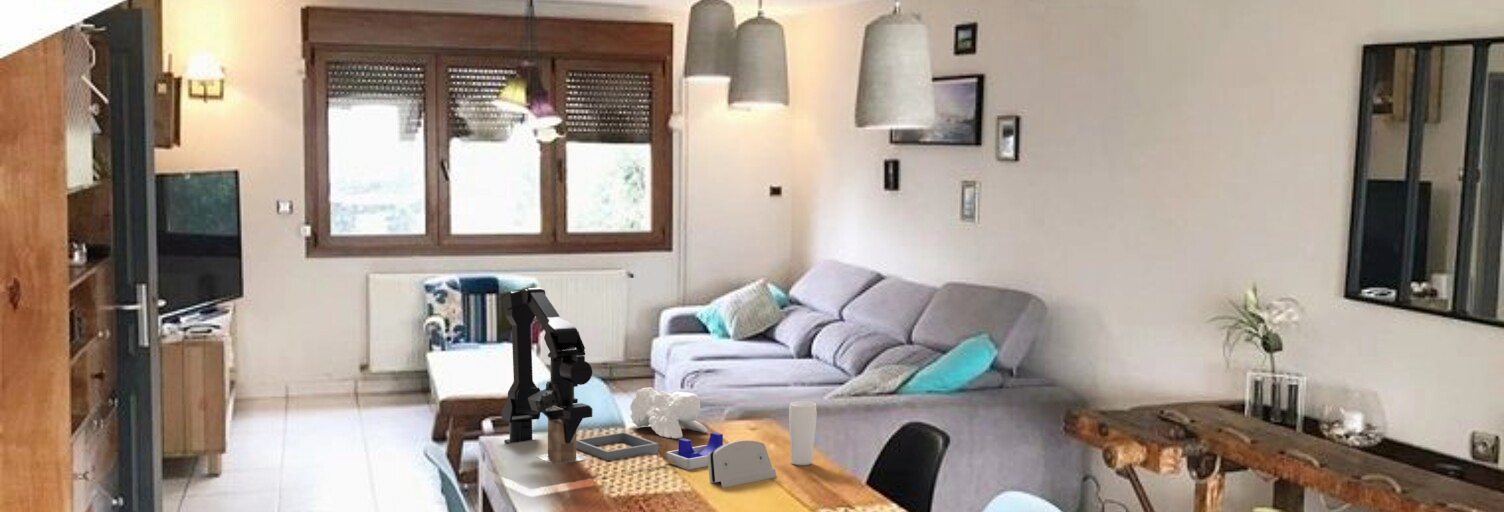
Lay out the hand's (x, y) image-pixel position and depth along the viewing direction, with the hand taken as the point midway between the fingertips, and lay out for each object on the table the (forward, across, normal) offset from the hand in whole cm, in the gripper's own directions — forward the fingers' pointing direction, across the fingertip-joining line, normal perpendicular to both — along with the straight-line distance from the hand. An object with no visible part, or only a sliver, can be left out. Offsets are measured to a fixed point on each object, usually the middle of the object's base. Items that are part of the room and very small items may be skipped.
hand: (562, 441), depth 314 cm
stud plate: (+6, 0, 0) cm, 6 cm away
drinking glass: (+6, +34, +48) cm, 59 cm away
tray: (+6, +1, +15) cm, 16 cm away
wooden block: (+4, 0, 0) cm, 4 cm away
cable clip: (+6, +17, +30) cm, 35 cm away
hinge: (+6, +36, +27) cm, 45 cm away
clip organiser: (+6, +18, +30) cm, 35 cm away
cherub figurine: (+6, -13, +42) cm, 44 cm away
